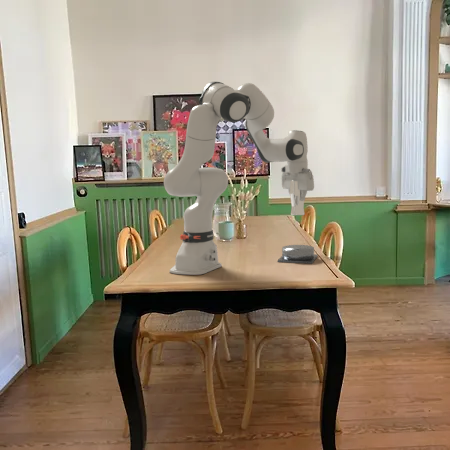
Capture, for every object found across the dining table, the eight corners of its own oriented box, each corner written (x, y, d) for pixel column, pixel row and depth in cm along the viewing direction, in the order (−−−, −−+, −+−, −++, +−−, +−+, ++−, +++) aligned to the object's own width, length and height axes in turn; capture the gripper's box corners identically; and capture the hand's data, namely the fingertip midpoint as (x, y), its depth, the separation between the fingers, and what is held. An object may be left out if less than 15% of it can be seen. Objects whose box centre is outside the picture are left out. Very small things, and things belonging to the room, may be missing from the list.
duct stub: (312, 263, 193) (312, 251, 192) (277, 261, 198) (277, 250, 197) (317, 256, 206) (317, 245, 205) (285, 254, 211) (285, 244, 210)
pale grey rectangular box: (308, 214, 216) (308, 180, 214) (301, 215, 210) (301, 181, 208) (293, 213, 220) (293, 180, 218) (286, 214, 214) (287, 180, 212)
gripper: (317, 168, 204) (317, 201, 206) (290, 167, 223) (290, 197, 225) (305, 169, 202) (305, 202, 204) (278, 168, 220) (279, 198, 222)
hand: (297, 200), depth 214 cm, fingers closed on pale grey rectangular box, 6 cm apart
